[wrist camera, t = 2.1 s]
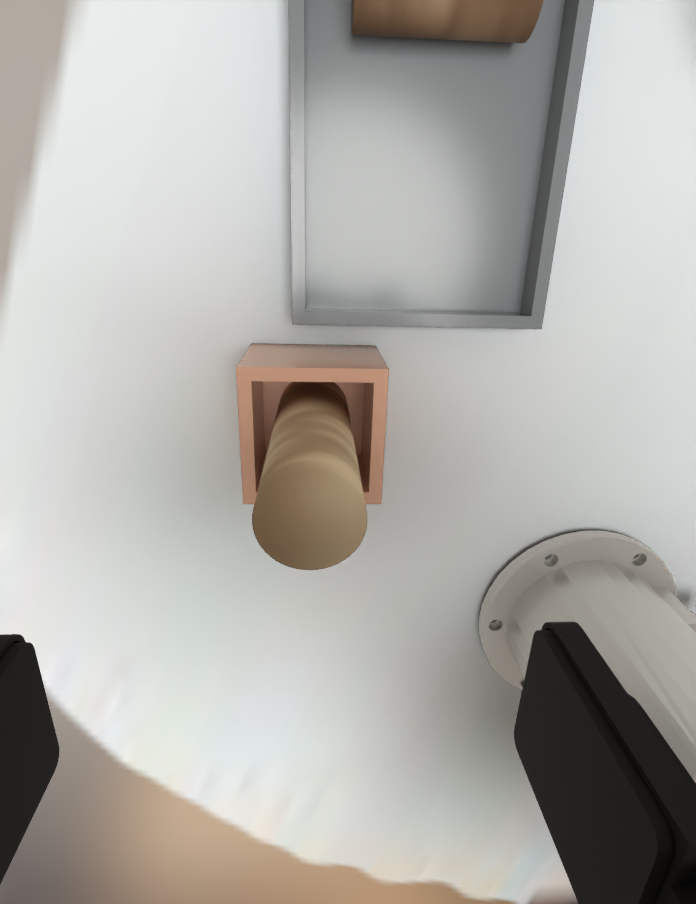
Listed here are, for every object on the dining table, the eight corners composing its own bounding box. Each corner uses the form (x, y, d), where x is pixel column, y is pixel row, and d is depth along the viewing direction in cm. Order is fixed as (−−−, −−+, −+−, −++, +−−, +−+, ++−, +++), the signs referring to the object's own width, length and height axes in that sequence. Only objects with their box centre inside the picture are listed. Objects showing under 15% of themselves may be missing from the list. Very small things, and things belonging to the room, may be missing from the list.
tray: (584, -77, 21) (611, -109, 19) (525, 323, 27) (541, 329, 25) (289, -97, 21) (287, -132, 19) (294, 318, 27) (292, 324, 25)
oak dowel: (348, 375, 27) (369, 469, 16) (346, 440, 28) (365, 569, 17) (278, 374, 27) (249, 468, 16) (279, 440, 28) (254, 570, 17)
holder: (375, 345, 27) (388, 368, 22) (370, 459, 30) (381, 504, 25) (251, 343, 27) (236, 366, 22) (256, 458, 29) (243, 504, 24)
